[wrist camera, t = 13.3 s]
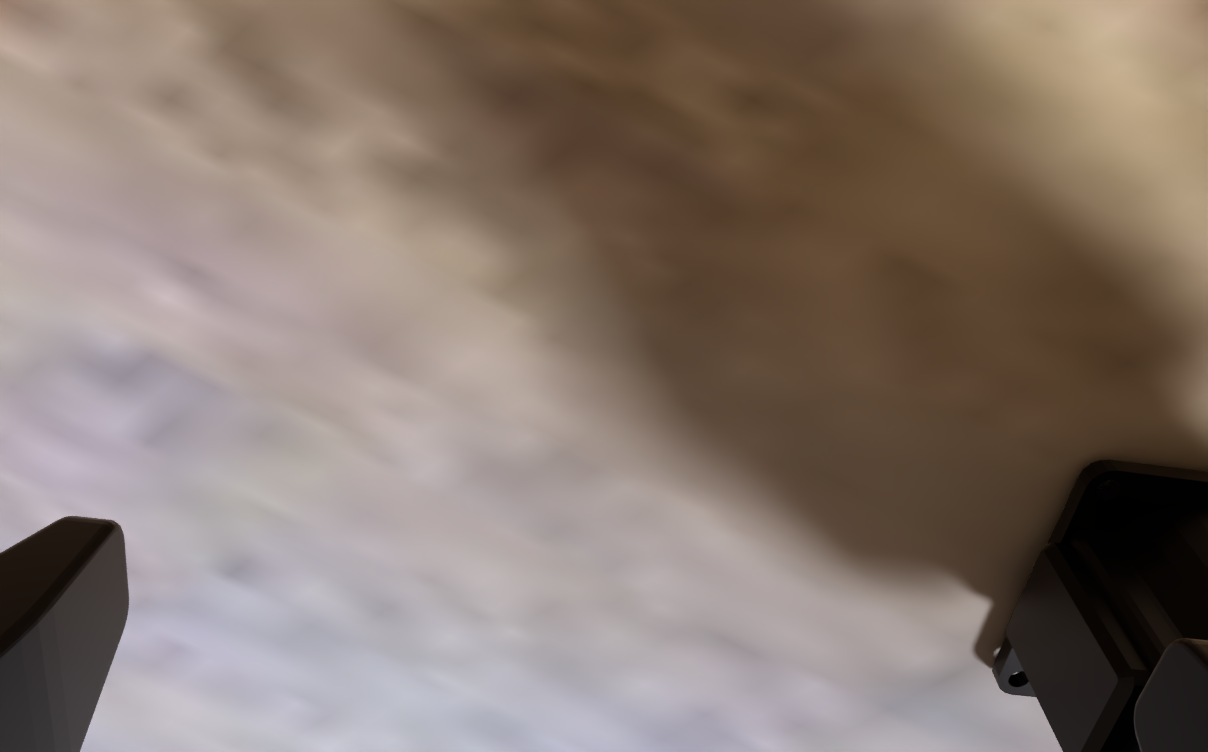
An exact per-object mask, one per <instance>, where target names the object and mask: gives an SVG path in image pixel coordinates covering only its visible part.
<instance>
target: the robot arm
mask: <svg viewBox="0 0 1208 752" xmlns="http://www.w3.org/2000/svg"><path fill="white" fill-rule="evenodd" d="M1109 480H1112V481H1111V483H1110V484H1109V485H1108V486H1106V487H1104V488H1101V489H1097V488H1098V487H1099V485H1100V484H1101V483H1103V482H1105V481H1109ZM128 608H129V592H128V579H127V566H126V554H125V541H124V534H123V531H122V529H121V526H120V525H119V524H118V523H116V522H115V521H113V520H106V519H97V518H88V517H79V516H67V517H64V518H62V519H59V520H57V521H55V522H54V523H52V524H50V525H48V526H47V527H45V528H43V529H41V530H40V531H38V532H36V533H34V534H33V535H31V536H29V537H27V538H26V539H24V540H22V541H20V542H19V543H17V544H15V545H14V546H12V547H10V548H8V549H7V550H5V551H3V552H1V553H0V752H80V750H81V747H82V744H83V741H84V739H85V736H86V733H87V730H88V727H89V725H90V722H91V719H92V716H93V714H94V711H95V708H96V705H97V703H98V700H99V697H100V694H101V691H102V689H103V686H104V683H105V680H106V678H107V675H108V672H109V669H110V666H111V664H112V661H113V658H114V655H115V653H116V650H117V647H118V644H119V642H120V639H121V636H122V633H123V630H124V627H125V624H126V620H127V615H128ZM1020 671H1021V672H1020ZM992 672H993V674H994V677H995V679H996V681H997V683H998V686H999V688H1000V689H1001V690H1002V691H1003V692H1005V693H1008V694H1012V695H1021V696H1031V697H1037V699H1038V701H1039V703H1040V705H1041V707H1042V709H1043V711H1044V713H1045V715H1046V717H1047V720H1048V722H1049V724H1050V726H1051V728H1052V730H1053V732H1054V734H1055V736H1056V738H1057V740H1058V742H1059V744H1060V746H1061V748H1062V750H1063V752H1208V472H1201V471H1193V470H1185V469H1178V468H1170V467H1162V466H1154V465H1146V464H1138V463H1130V462H1122V461H1114V460H1100V461H1097V462H1094V463H1091V464H1090V465H1089V466H1087V467H1086V468H1085V469H1083V471H1082V472H1081V474H1080V475H1079V476H1078V479H1077V481H1076V483H1075V485H1074V487H1073V490H1072V492H1071V494H1070V496H1069V498H1068V501H1067V503H1066V505H1065V507H1064V509H1063V512H1062V514H1061V516H1060V518H1059V521H1058V523H1057V525H1056V527H1055V529H1054V532H1053V534H1052V536H1051V538H1050V540H1049V543H1048V545H1047V546H1046V547H1045V548H1044V549H1043V550H1042V551H1041V553H1040V555H1039V557H1038V559H1037V561H1036V564H1035V566H1034V568H1033V570H1032V573H1031V575H1030V577H1029V579H1028V581H1027V584H1026V586H1025V588H1024V590H1023V592H1022V595H1021V597H1020V599H1019V601H1018V604H1017V606H1016V608H1015V610H1014V612H1013V615H1012V617H1011V619H1010V621H1009V624H1008V626H1007V628H1006V638H1005V640H1004V642H1003V644H1002V647H1001V649H1000V651H999V653H998V655H997V658H996V660H995V662H994V664H993V669H992ZM1016 672H1019V673H1017V674H1014V673H1016ZM1012 674H1013V675H1012Z"/></svg>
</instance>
